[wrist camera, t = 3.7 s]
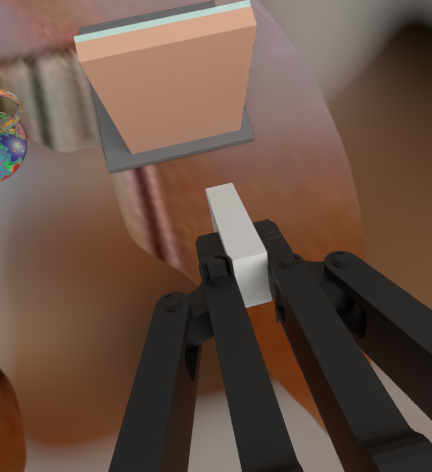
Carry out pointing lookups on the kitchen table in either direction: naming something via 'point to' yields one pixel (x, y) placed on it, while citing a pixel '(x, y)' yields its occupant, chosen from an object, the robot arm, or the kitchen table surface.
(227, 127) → the tile
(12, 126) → the mug
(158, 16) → the mat
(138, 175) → the kitchen table surface
